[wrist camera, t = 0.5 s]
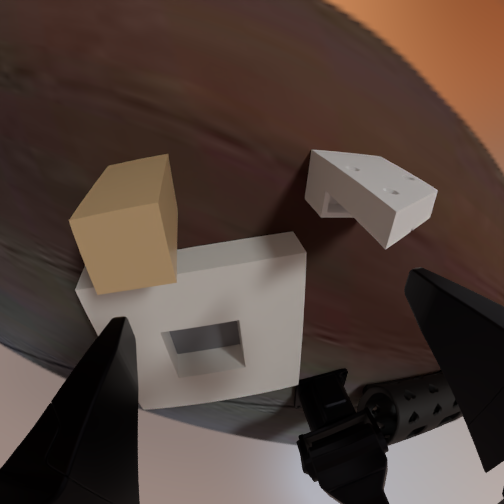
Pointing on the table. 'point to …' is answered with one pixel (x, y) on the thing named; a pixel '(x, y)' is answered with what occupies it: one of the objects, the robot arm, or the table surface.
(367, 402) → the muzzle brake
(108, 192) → the plug
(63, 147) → the table surface
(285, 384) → the socket plate
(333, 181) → the white angled block
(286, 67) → the table surface
